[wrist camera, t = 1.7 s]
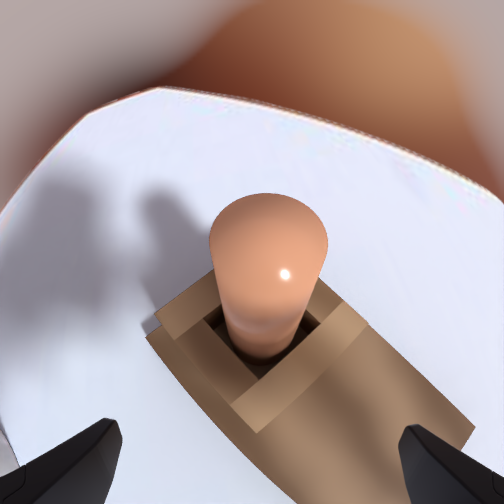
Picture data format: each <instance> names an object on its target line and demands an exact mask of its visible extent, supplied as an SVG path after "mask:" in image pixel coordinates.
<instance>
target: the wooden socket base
mask: <svg viewBox="0 0 504 504" xmlns="http://www.w3.org/2000/svg"><path fill="white" fill-rule="evenodd" d="M154 315H155V316H156V318H157V319H158V320H159V321H160V323H161V324H162V325H161V326H160V327H158V328H157V329H156V330H154V331H153V332H152V333H150V334H149V335H148V336H146V337H145V338H146V339H147V341H148V342H149V343H150V345H151V346H152V348H153V349H154V350H155V352H156V353H157V354H158V356H159V357H160V358H161V360H162V361H163V362H164V363H165V365H166V366H167V367H168V369H169V370H170V371H171V372H172V374H173V375H174V376H175V378H176V379H177V380H178V381H179V383H180V384H181V385H182V386H183V387H184V389H185V390H186V391H187V392H188V394H189V395H190V396H191V397H192V398H193V399H194V401H195V402H196V403H197V404H198V405H199V406H200V408H201V409H202V410H203V411H204V412H205V413H206V415H207V416H208V417H209V418H210V419H211V420H212V421H213V422H214V423H215V425H216V426H217V427H218V428H219V429H220V430H221V431H222V432H223V433H224V434H225V435H226V436H227V438H228V439H229V440H230V441H231V442H232V443H233V444H234V445H235V446H236V447H237V448H238V449H239V450H240V451H241V452H242V453H243V454H244V455H245V456H246V457H247V458H248V459H249V460H250V461H251V462H252V463H253V464H254V465H255V466H256V467H257V468H258V469H259V470H260V471H261V472H262V473H263V474H264V475H266V476H267V477H268V478H269V479H270V480H271V481H272V482H273V483H274V484H275V485H276V486H278V487H279V488H280V489H281V490H282V491H283V492H284V493H285V494H287V495H288V496H289V497H290V498H291V499H292V500H293V501H295V502H296V503H297V504H411V502H410V498H409V495H408V492H407V489H406V485H405V481H404V476H403V470H402V465H401V460H400V455H399V450H398V443H399V440H400V438H401V436H402V433H403V431H404V429H405V427H406V426H407V425H412V424H420V425H421V426H423V427H424V428H426V429H427V430H429V431H430V432H432V433H433V434H435V435H436V436H438V437H439V438H441V439H442V440H444V441H446V442H447V443H449V444H450V445H452V446H453V447H455V448H456V449H458V450H460V451H461V449H462V448H463V446H464V445H465V443H466V442H467V440H468V439H469V437H470V435H471V434H472V432H473V430H474V429H475V426H474V425H473V424H472V423H471V422H470V421H469V420H468V419H467V418H466V417H465V416H464V415H463V414H462V413H461V412H460V411H459V410H458V409H457V408H456V407H455V406H454V405H453V404H452V403H451V402H450V401H449V400H448V399H447V398H446V397H445V396H444V395H443V394H441V393H440V392H439V391H438V390H437V389H436V388H435V387H434V386H433V385H432V384H431V383H430V382H429V381H428V380H427V379H426V378H425V377H424V376H423V375H422V374H421V373H420V372H419V371H417V370H416V369H415V368H414V367H413V366H412V365H411V364H410V363H409V362H408V361H407V360H406V359H405V358H404V357H403V356H402V355H401V354H400V353H398V352H397V351H396V350H395V349H394V348H393V347H392V346H391V345H390V344H389V343H388V342H387V341H386V340H385V339H384V338H382V337H381V336H380V335H379V334H378V333H377V332H376V331H375V330H374V329H373V328H372V327H371V326H370V325H368V324H369V323H368V322H367V321H366V320H365V319H364V318H363V317H361V316H360V315H359V314H358V313H357V312H356V311H355V310H354V309H353V308H352V307H351V306H349V305H348V304H347V303H346V302H345V301H344V300H343V299H342V298H341V297H340V296H338V295H337V294H336V293H335V292H334V291H333V290H332V289H331V288H330V287H328V286H327V285H326V284H325V283H324V282H323V281H322V280H321V279H320V278H319V277H318V279H317V281H316V284H315V286H314V289H313V292H312V294H311V297H310V299H309V301H308V304H307V306H306V309H305V311H304V314H303V316H302V319H301V321H300V323H299V326H298V328H297V330H296V333H295V335H294V337H293V340H292V342H291V344H290V347H289V349H288V351H287V352H286V354H285V355H284V356H283V357H282V358H281V359H279V360H278V361H276V362H274V363H272V364H268V365H253V364H250V363H247V362H245V361H244V360H242V359H241V358H240V357H238V356H237V354H236V353H235V352H234V350H233V348H232V346H231V343H230V339H229V334H228V330H227V326H226V321H225V317H224V312H223V308H222V303H221V299H220V294H219V290H218V285H217V280H216V276H215V271H214V269H213V270H212V271H210V272H209V273H208V274H206V275H205V276H204V277H202V278H201V279H200V280H198V281H197V282H196V283H194V284H193V285H192V286H190V287H189V288H188V289H186V290H185V291H184V292H182V293H181V294H180V295H178V296H177V297H176V298H174V299H173V300H172V301H170V302H169V303H168V304H166V305H165V306H164V307H162V308H161V309H160V310H158V311H157V312H156V313H154Z"/></svg>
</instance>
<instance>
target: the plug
mask: <svg viewBox="0 0 504 504" xmlns="http://www.w3.org/2000/svg"><path fill="white" fill-rule="evenodd" d="M209 246H210V252H211V257H212V262H213V266H214V271H215V276H216V280H217V285H218V290H219V294H220V299H221V303H222V308H223V312H224V317H225V321H226V326H227V330H228V334H229V339H230V343H231V346H232V348H233V350H234V352H235V353H236V354H237V356H238V357H240V358H241V359H242V360H244V361H245V362H247V363H250V364H253V365H268V364H272V363H274V362H276V361H278V360H279V359H281V358H282V357H283V356H284V355H285V354H286V352H287V351H288V349H289V347H290V344H291V342H292V340H293V337H294V335H295V333H296V330H297V328H298V326H299V323H300V321H301V319H302V316H303V314H304V311H305V309H306V306H307V304H308V301H309V299H310V297H311V294H312V292H313V289H314V286H315V284H316V281H317V279H318V276H319V274H320V271H321V268H322V266H323V263H324V261H325V258H326V254H327V249H328V239H327V233H326V230H325V227H324V225H323V223H322V222H321V220H320V219H319V217H318V216H317V215H316V214H315V213H314V211H312V210H311V209H310V208H309V207H308V206H306V205H305V204H303V203H302V202H300V201H298V200H296V199H293V198H291V197H288V196H285V195H280V194H272V193H261V194H254V195H249V196H246V197H243V198H240V199H238V200H236V201H234V202H233V203H231V204H229V205H228V206H227V207H225V208H224V209H223V210H222V211H221V212H220V214H219V215H218V216H217V217H216V219H215V221H214V223H213V225H212V227H211V231H210V236H209Z"/></svg>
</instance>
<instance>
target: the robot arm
mask: <svg viewBox="0 0 504 504" xmlns="http://www.w3.org/2000/svg"><path fill="white" fill-rule="evenodd" d="M121 446H122V435H121V432H120V429H119V426H118V423H117V421H116V420H113V419H109V418H103V419H101V420H99V421H98V422H96V423H95V424H93V425H91V426H90V427H88V428H86V429H85V430H83V431H82V432H80V433H78V434H77V435H75V436H73V437H72V438H70V439H68V440H67V441H65V442H63V443H62V444H60V445H58V446H56V447H55V448H53V449H51V450H50V451H48V452H46V453H44V454H43V455H41V456H39V457H37V458H36V459H34V460H32V461H30V462H29V463H27V464H26V465H23V466H21V467H19V468H18V469H16V470H14V471H12V472H10V473H8V474H6V475H3V476H1V477H0V504H104V503H105V500H106V497H107V495H108V492H109V489H110V487H111V484H112V481H113V478H114V474H115V470H116V466H117V462H118V458H119V454H120V450H121ZM398 450H399V455H400V460H401V465H402V470H403V476H404V481H405V485H406V489H407V492H408V495H409V498H410V502H411V504H504V477H502V476H500V475H499V474H497V473H495V472H494V471H493V472H492V470H490V469H489V468H487V467H485V466H484V465H482V464H480V463H479V462H477V461H476V460H474V459H472V458H471V457H469V456H468V455H466V454H464V453H463V452H461V451H460V450H458V449H456V448H455V447H453V446H452V445H450V444H449V443H447V442H446V441H444V440H442V439H441V438H439V437H438V436H436V435H435V434H433V433H432V432H430V431H429V430H427V429H426V428H424V427H423V426H421V425H420V424H412V425H407V426H406V427H405V429H404V431H403V433H402V436H401V438H400V440H399V443H398Z"/></svg>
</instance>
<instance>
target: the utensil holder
mask: <svg viewBox="0 0 504 504" xmlns="http://www.w3.org/2000/svg"><path fill="white" fill-rule="evenodd" d="M18 468H19V465H18V462H17V460H16V457H15V455H14V453H13V451H12V449H11V447H10V445H9V443H8V441H7V440H6V438H5V436H4V435H3V433H2V432H1V430H0V477H1V476H3V475H6V474H8V473H10V472H12V471H14V470H16V469H18Z"/></svg>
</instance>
